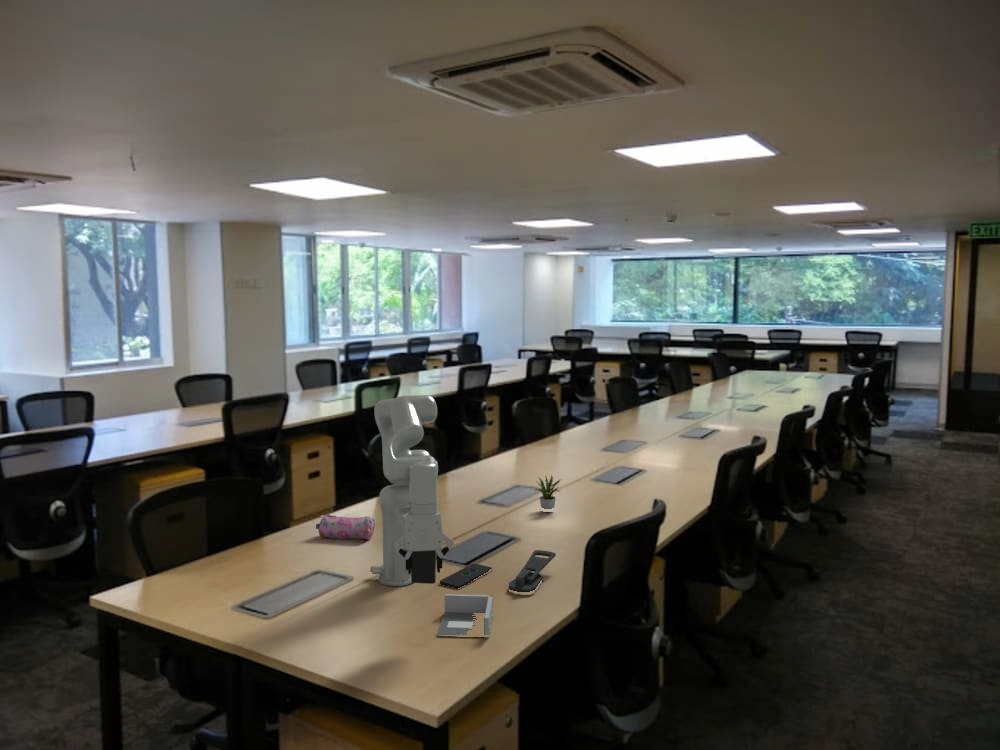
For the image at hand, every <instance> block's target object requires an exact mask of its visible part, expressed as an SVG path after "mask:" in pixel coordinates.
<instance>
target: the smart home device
mask: <svg viewBox="0 0 1000 750" xmlns="http://www.w3.org/2000/svg"><path fill="white" fill-rule="evenodd" d="M490 569H492V570H493V567H491V566H487V565H483V564H478V563H471V564H469V565H467V566H465V567H463V568H462V569H459V570H458V571H456V572H454V573H452V574H450V575H448V576H446V577H444V578H441V579H440V580H439V585H440V584H441V585H440V586H442V585H444V586H443V587H446V586H449V587H448V588H450V587H454V588H460V587H462V586H464V585H467V584H468V583H470V582H471V581H473V580H474V579H476V578H478V577H479V576H481V575H483V574H484V573H486V572H488V571H489V570H490ZM470 584H471V583H470ZM468 585H469V584H468ZM468 585H467V586H468ZM454 588H453V589H454Z"/></svg>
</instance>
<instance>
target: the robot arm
mask: <svg viewBox="0 0 1000 750" xmlns="http://www.w3.org/2000/svg"><path fill="white" fill-rule="evenodd" d="M373 410H374V418H375V419H374V420H375V424H376V425H377V426H376V427H377V428H378V431H379V433H380V437H381V445H382V446H381V447H382V470H383V475H384V478H385V479H387V480H388V481H389V482H390V483H391V485H386V486H385V487H383V488H382V489H381V490H380V492H379V498H378V499H379V505H380V511H381V520H382V563H383V564H382V565H380V566H375V565H370V571H369V572H370V573H372V575H378V582H379V583H380V584H382V585H385V586H388V587H389V586H390V587H403V586H408V585H411V584H413V583H412V582H411V554H412V552H418V551H436V552H437V560H436V573H439V574H440V572H441V569H443V558H444V556H445V555H446V554H448V552H449V551H450V549H452V547H454V545H455V543H454V540H453V539H452V538H451V537H449V536H448V535H446V534H445V533H443V532H444V530H443V521H442V520H443V519H442V514H441V512H440V510H438V509H439V507H438V505H439V502H438V500H439V499H438V497H439V495H438V489H439V487H438V480H439V479H438V478H439V477H438V473H439V465H438V461H437V460H436V459H435V457H433V456H431V454H430V452H429V451H427V450H425V449H412V450H411V448H412V447H414V446H416V445H418V444H419V443H420V442H421V441H422V440H423V437H424V435H425V431H424V428H423V424H425V425H426V424H431V423H434V422H435V421H436V419H437V417H438V406H437V403H436V400H435V399H434V397H433V396H431V395H428V394H422V395H421V394H418V395H401V396H398V397H395V398H387V399H381V400H379V401H377V402H376V403H375V405H374V409H373ZM405 515H406V516H405ZM444 543H446V545H444ZM443 546H444V547H443Z"/></svg>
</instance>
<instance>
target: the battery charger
mask: <svg viewBox="0 0 1000 750" xmlns="http://www.w3.org/2000/svg"><path fill="white" fill-rule="evenodd" d="M437 555H438V554H437V552H436V551H418V552H412V554H411V582H412V583H411V584H435V583H436V581H437V575H436V573H437Z"/></svg>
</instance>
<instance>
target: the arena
mask: <svg viewBox="0 0 1000 750" xmlns="http://www.w3.org/2000/svg"><path fill="white" fill-rule="evenodd" d="M473 613H485V618H484V635H489V636H490V634H489V631H490V632H491V628H490V625H491V626H492V622H491V620H492V621H493V616H492V614H493V615H494V595H493V594H468V593H467V594H462V593H461V594H460V593H459V594H457V593H455V594H454V593H444V613H443V615H442V620H441V623H440V625H439V628H438V631H437V634H436V635H461V634H462V635H467V634H466V633H467V631H469V630H472V629H469V628H472V627H473V626H476V625H473V623H475V622H472V621H475V620H473V619H476V618H473V617H476V616H472V615H475V614H473ZM476 620H477V619H476Z"/></svg>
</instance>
